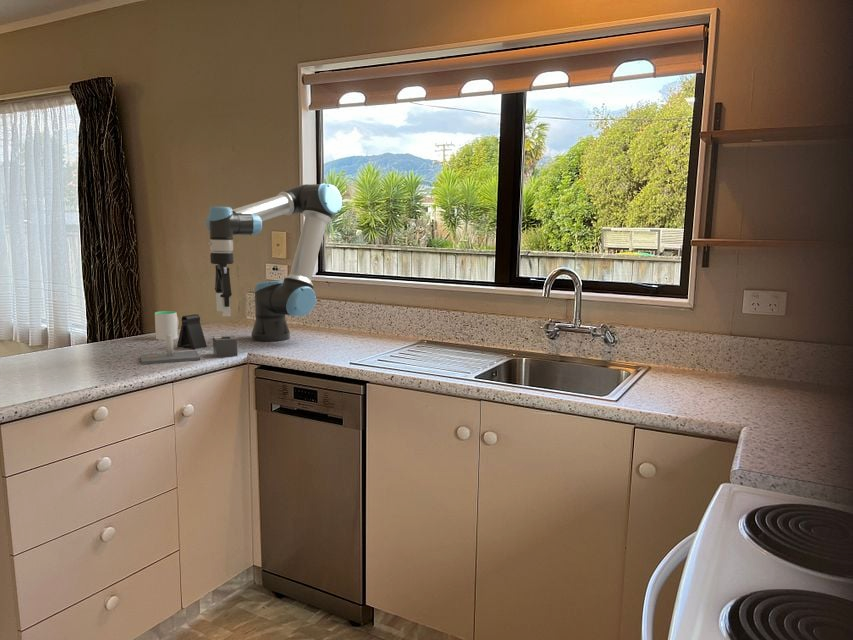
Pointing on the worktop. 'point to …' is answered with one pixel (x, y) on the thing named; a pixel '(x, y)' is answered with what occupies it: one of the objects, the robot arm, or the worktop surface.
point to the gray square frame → (225, 346)
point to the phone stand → (191, 333)
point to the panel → (170, 359)
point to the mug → (166, 324)
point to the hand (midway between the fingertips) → (223, 313)
